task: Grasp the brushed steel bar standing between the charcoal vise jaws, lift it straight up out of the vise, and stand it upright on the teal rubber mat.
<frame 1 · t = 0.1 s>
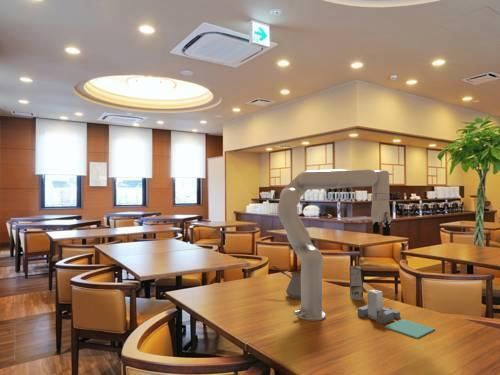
hand: (381, 234, 164), 37 cm above the table, tool pointing down, fingers open, 9 cm apart
vise: (375, 317, 159), on the table
coffee pot: (288, 295, 194), on the table
coffee box: (356, 297, 190), on the table
steel bar: (375, 317, 159), on the table
mat: (409, 328, 147), on the table
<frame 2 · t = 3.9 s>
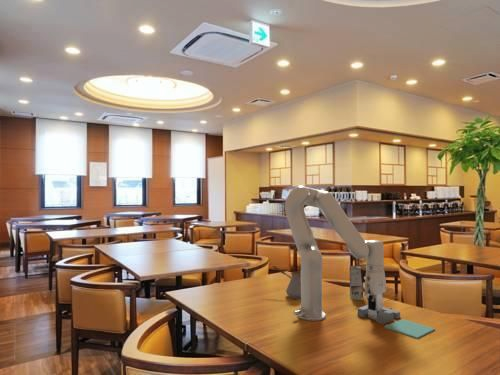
hand: (375, 308, 159), 4 cm above the table, tool pointing down, fingers closed on steel bar, 4 cm apart
steel bar: (375, 317, 159), on the table, touching gripper
everything else where it was.
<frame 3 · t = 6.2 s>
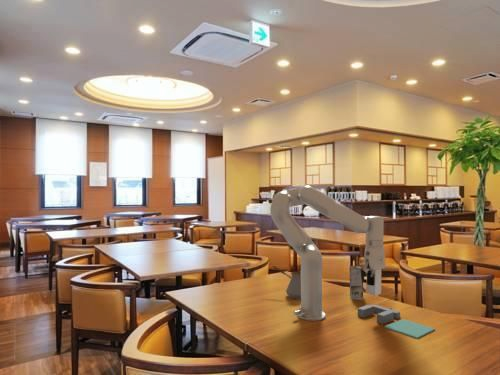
hand: (373, 283, 160), 15 cm above the table, tool pointing down, fingers closed on steel bar, 4 cm apart
steel bar: (373, 293, 160), point 11 cm above the table, touching gripper
everything else where it was.
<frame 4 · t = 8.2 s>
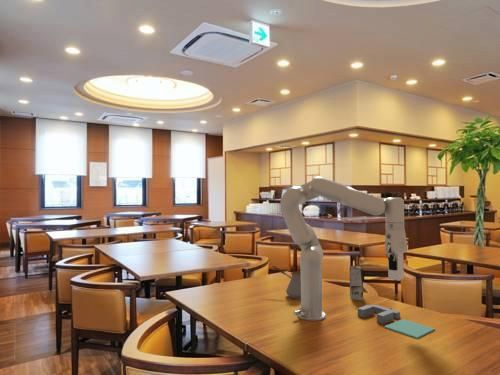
hand: (395, 268, 152), 24 cm above the table, tool pointing down, fingers closed on steel bar, 4 cm apart
steel bar: (396, 278, 152), point 19 cm above the table, touching gripper
everything else where it was.
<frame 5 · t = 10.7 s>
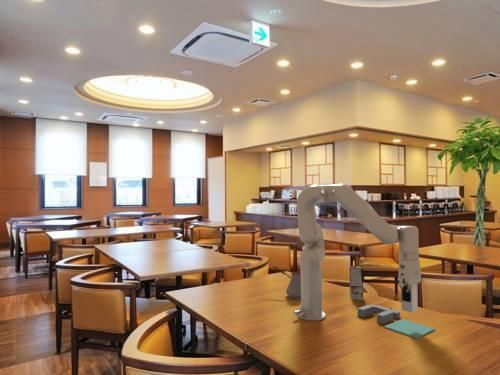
hand: (409, 299, 147), 12 cm above the table, tool pointing down, fingers closed on steel bar, 4 cm apart
steel bar: (409, 310, 147), point 8 cm above the table, touching gripper
everything else where it was.
when the fingers open (6 cm above the table, at t = 12.6 s): steel bar drops 1 cm, resting on mat.
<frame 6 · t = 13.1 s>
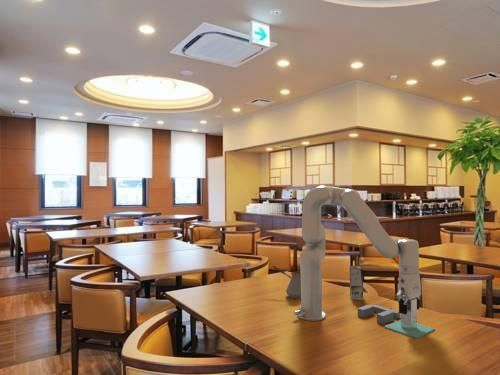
hand: (409, 311, 147), 7 cm above the table, tool pointing down, fingers open, 9 cm apart
steel bar: (408, 327, 147), point 1 cm above the table, touching mat
everything else where it was.
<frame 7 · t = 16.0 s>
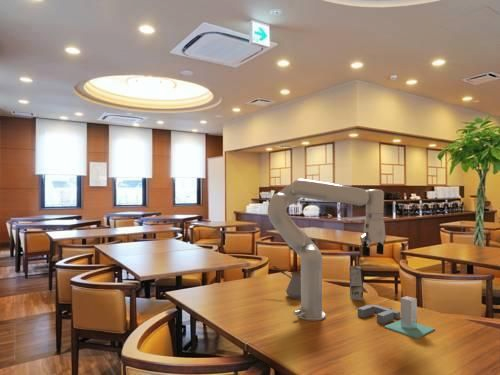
hand: (373, 254, 159), 28 cm above the table, tool pointing down, fingers open, 9 cm apart
nothing on the table moved.
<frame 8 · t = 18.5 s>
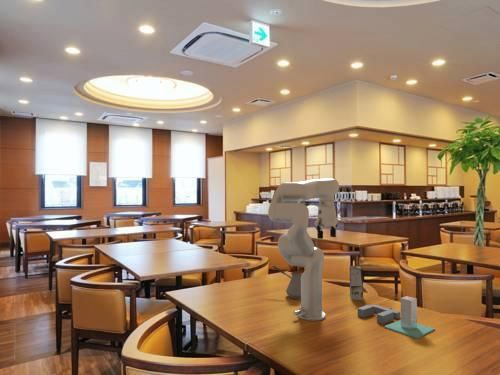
hand: (326, 237, 181), 33 cm above the table, tool pointing down, fingers open, 9 cm apart
nothing on the table moved.
at the end: steel bar inside the target area on the mat (0.2 cm from its centre), point 0.6 cm above the mat's base; steel bar tilted 0°; the gripper is holding nothing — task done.
